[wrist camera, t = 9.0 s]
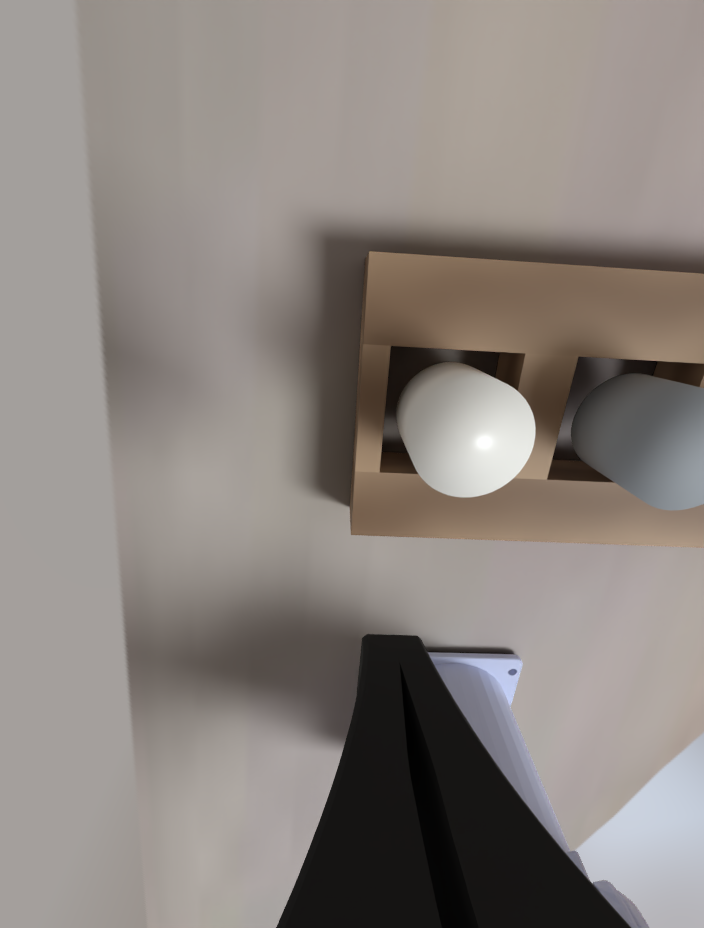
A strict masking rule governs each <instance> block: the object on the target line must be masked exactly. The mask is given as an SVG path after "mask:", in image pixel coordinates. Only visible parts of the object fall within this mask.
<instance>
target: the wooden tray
mask: <svg viewBox="0 0 704 928" xmlns="http://www.w3.org/2000/svg"><path fill="white" fill-rule="evenodd" d="M391 346H403V347H421V348H438V349H456V350H473V351H491V352H500V354H499V359H498V365H497V370H496V375H495V378H496V379H498V380H500V381H502V382H504V383H506V384H508V385H509V386H511V387H513V388H514V389H516V390H517V391H518V392H519V393H520V394H521V395H522V396H523V397H524V398H525V400H526V401H527V403H528V404H529V406H530V408H531V410H532V413H533V416H534V420H535V428H536V429H535V441H534V446H533V449H532V452H531V454H530V456H529V459H528V460H527V462H526V464H525V465H524V467H523V468H522V469H521V471H520V472H519V473H518V474H517V475H516V476H515V477H514V478H513V479H512V480H511V481H510V482H508V483H507V484H506V485H504V486H503V487H501V488H499V489H497V490H495V491H493V492H491V493H488V494H485V495H481V496H477V497H464V498H462V497H454V496H449V495H446V494H443V493H441V492H439V491H437V490H435V489H433V488H432V487H431V486H429V485H428V484H427V483H426V482H425V481H424V480H423V479H422V478H421V477H420V475H419V474H418V472H417V471H416V469H415V467H414V465H413V462H412V460H411V458H410V456H409V453H396V452H381V450H382V439H383V428H384V416H385V405H386V394H387V383H388V372H389V360H390V349H391ZM578 357H596V358H614V359H631V360H649V361H658V362H657V365H656V368H655V371H654V374H653V376H654V377H658V378H663V379H667V380H671V381H675V382H680V383H684V384H688V385H692V386H696V387H701V388H704V274H701V273H686V272H672V271H657V270H642V269H627V268H612V267H597V266H582V265H567V264H552V263H537V262H522V261H507V260H492V259H477V258H462V257H447V256H432V255H418V254H403V253H388V252H373V251H369V253H368V255H367V257H366V258H365V272H364V288H363V304H362V320H361V336H360V352H359V369H358V385H357V401H356V417H355V433H354V449H353V466H352V482H351V498H350V523H351V535H368V536H395V537H423V538H450V539H478V540H505V541H533V542H560V543H588V544H615V545H643V546H670V547H697V548H704V504H702V505H699V506H696V507H693V508H689V509H684V510H663V509H658V508H655V507H653V506H650V505H648V504H647V503H645V502H644V501H642V500H640V499H639V498H637V497H636V496H634V495H633V494H631V493H630V492H628V491H627V490H625V489H624V488H622V487H621V486H619V485H618V484H616V483H615V482H613V481H612V480H610V479H609V478H607V477H606V476H604V475H603V474H601V473H600V472H598V471H597V470H595V469H593V468H592V467H590V466H589V465H587V464H586V463H585V462H583V461H572V460H552V458H553V454H554V450H555V446H556V442H557V438H558V434H559V431H560V427H561V423H562V419H563V415H564V411H565V407H566V403H567V399H568V396H569V392H570V388H571V384H572V380H573V376H574V372H575V368H576V364H577V361H578Z"/></svg>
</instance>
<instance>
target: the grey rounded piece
mask: <svg viewBox="0 0 704 928" xmlns="http://www.w3.org/2000/svg"><path fill="white" fill-rule="evenodd" d="M571 439H572V444H573V447H574V450H575V452H576V453H577V455H578V456H579V458H580V459H581V460H582V461H583V462H585V463H586V464H587V465H589V466H590V467H592V468H593V469H595V470H597V471H598V472H600V473H601V474H603V475H604V476H606V477H607V478H609V479H610V480H612V481H613V482H615V483H616V484H618V485H619V486H621V487H622V488H624V489H625V490H627V491H628V492H630V493H631V494H633V495H634V496H636V497H637V498H639V499H640V500H642V501H644V502H645V503H647V504H648V505H650V506H653V507H655V508H658V509H663V510H684V509H689V508H693V507H696V506H699V505H702V504H704V388H701V387H696V386H692V385H688V384H684V383H680V382H675V381H671V380H667V379H663V378H658V377H654V376H650V375H646V374H639V373H630V374H623V375H620V376H616V377H614V378H611V379H609V380H607V381H605V382H603V383H602V384H601V385H599V386H598V387H596V388H595V389H594V390H593V391H592V392H591V393H590V394H589V395H588V396H587V397H586V398H585V399H584V400H583V402H582V403H581V405H580V406H579V408H578V410H577V412H576V414H575V417H574V419H573V423H572V428H571Z"/></svg>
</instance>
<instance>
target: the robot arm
mask: <svg viewBox="0 0 704 928" xmlns="http://www.w3.org/2000/svg"><path fill="white" fill-rule="evenodd" d="M521 668H522V661H521V659H520V657H519V656H518V655H514V654H479V653H437V652H427V650H426V648H425V646H424V644H423V642H422V640H421V639H420V638H419V637H418V636H406V635H374V634H367V635H366V636H364V637H363V638H362V646H361V656H360V666H359V676H358V687H357V698H356V702H355V707H354V712H353V716H352V720H351V724H350V728H349V731H348V735H347V738H346V742H345V745H344V749H343V752H342V756H341V759H340V763H339V766H338V769H337V772H336V775H335V778H334V781H333V784H332V787H331V790H330V793H329V796H328V799H327V802H326V805H325V808H324V810H323V813H322V816H321V819H320V822H319V824H318V827H317V829H316V832H315V835H314V837H313V840H312V843H311V845H310V848H309V850H308V853H307V856H306V858H305V861H304V863H303V866H302V868H301V871H300V873H299V876H298V878H297V881H296V883H295V886H294V888H293V890H292V893H291V895H290V897H289V900H288V902H287V904H286V907H285V909H284V911H283V914H282V916H281V918H280V920H279V923H278V925H277V927H276V928H649V926H648V924H647V923H646V921H645V919H644V918H643V916H642V914H641V913H640V911H639V910H638V908H637V907H636V906H635V904H634V903H633V902H632V901H631V900H629V899H628V898H627V897H626V896H625V895H623V894H622V893H621V892H619V891H617V890H616V888H615V887H614V886H613V885H612V884H611V883H610V882H608V881H606V880H602V881H598V882H593V884H592V883H591V882H590V880H589V878H588V875H587V873H586V870H585V868H584V866H583V863H582V861H581V859H580V856H579V854H578V852H576V851H570V849H569V846H568V844H567V842H566V839H565V837H564V834H563V832H562V830H561V827H560V825H559V822H558V820H557V818H556V815H555V813H554V810H553V808H552V806H551V803H550V801H549V798H548V796H547V794H546V791H545V789H544V787H543V784H542V782H541V779H540V777H539V775H538V772H537V770H536V767H535V765H534V763H533V760H532V758H531V755H530V753H529V751H528V748H527V746H526V743H525V741H524V739H523V736H522V734H521V731H520V729H519V727H518V724H517V722H516V719H515V717H514V715H513V712H512V710H511V703H512V700H513V696H514V693H515V689H516V686H517V682H518V679H519V675H520V672H521Z"/></svg>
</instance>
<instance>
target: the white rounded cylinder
mask: <svg viewBox="0 0 704 928" xmlns="http://www.w3.org/2000/svg"><path fill="white" fill-rule="evenodd" d="M396 422H397V427H398V430H399V433H400V435H401V438H402V440H403V442H404V444H405V447H406V449H407V451H408V453H409V456H410V458H411V460H412V462H413V465H414V467H415V469H416V471H417V472H418V474H419V475H420V477H421V478H422V479H423V480H424V481H425V482H426V483H427V484H428V485H429V486H431V487H432V488H433V489H435V490H437V491H439V492H441V493H443V494H446V495H449V496H454V497H462V498H464V497H477V496H481V495H485V494H488V493H491V492H493V491H495V490H497V489H499V488H501V487H503V486H504V485H506V484H507V483H508V482H510V481H511V480H512V479H513V478H514V477H515V476H516V475H517V474H518V473H519V472H520V471H521V469H522V468H523V467H524V465H525V464H526V462H527V460H528V459H529V456H530V454H531V452H532V449H533V446H534V441H535V429H536V428H535V420H534V416H533V413H532V410H531V408H530V406H529V404H528V403H527V401H526V400H525V398H524V397H523V396H522V395H521V394H520V393H519V392H518V391H517V390H516V389H514V388H513V387H511V386H509V385H508V384H506V383H504V382H502V381H500V380H498V379H496V378H494V377H492V376H490V375H488V374H486V373H484V372H482V371H480V370H478V369H475V368H473V367H471V366H469V365H467V364H463V363H458V362H444V363H438V364H435V365H432V366H430V367H427V368H425V369H424V370H422V371H420V372H419V373H418V374H416V375H415V376H414V377H413V378H412V379H411V380H410V381H409V382H408V384H407V385H406V386H405V388H404V389H403V391H402V393H401V395H400V397H399V400H398V404H397V409H396Z"/></svg>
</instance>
